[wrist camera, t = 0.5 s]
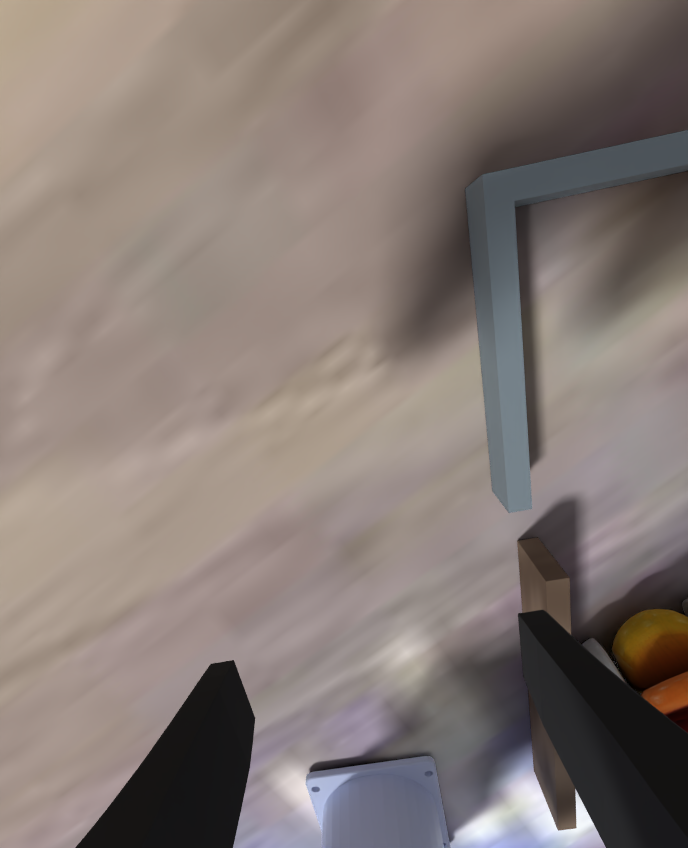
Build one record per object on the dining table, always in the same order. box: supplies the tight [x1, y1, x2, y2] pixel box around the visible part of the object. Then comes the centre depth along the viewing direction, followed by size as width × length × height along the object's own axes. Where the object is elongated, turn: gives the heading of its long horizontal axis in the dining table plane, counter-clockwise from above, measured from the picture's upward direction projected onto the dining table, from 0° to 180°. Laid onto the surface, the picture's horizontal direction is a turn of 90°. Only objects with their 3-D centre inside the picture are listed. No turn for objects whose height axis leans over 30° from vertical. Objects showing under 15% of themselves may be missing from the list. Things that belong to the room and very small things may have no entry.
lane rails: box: [517, 537, 576, 830], centre depth 21 cm, size 17×14×3 cm
